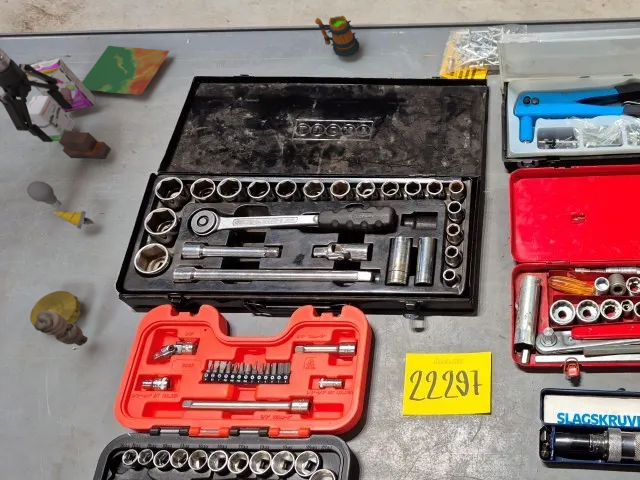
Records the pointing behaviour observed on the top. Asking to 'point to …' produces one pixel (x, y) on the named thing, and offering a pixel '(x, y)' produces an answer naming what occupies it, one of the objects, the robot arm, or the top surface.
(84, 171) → the top surface
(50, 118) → the ink box
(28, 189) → the light bulb
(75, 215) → the drill bit
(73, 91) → the candy bar box
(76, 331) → the brown lumpy elongated piece
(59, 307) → the yellow round disc
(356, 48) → the mug
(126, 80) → the terrain model
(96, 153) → the brown stepped block
